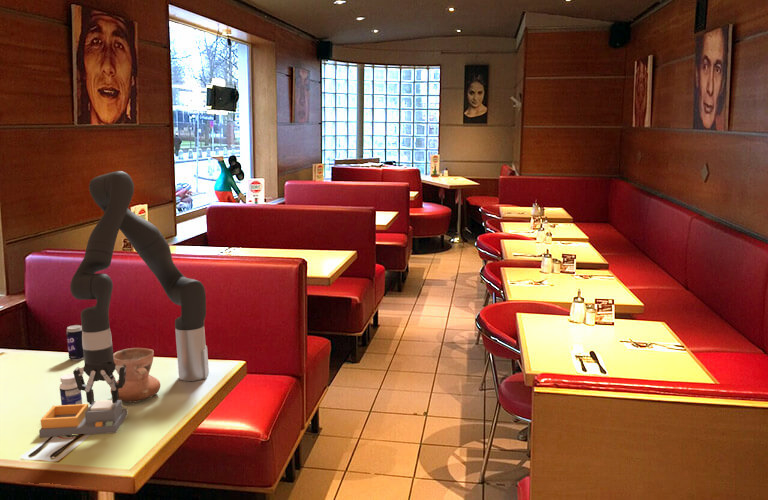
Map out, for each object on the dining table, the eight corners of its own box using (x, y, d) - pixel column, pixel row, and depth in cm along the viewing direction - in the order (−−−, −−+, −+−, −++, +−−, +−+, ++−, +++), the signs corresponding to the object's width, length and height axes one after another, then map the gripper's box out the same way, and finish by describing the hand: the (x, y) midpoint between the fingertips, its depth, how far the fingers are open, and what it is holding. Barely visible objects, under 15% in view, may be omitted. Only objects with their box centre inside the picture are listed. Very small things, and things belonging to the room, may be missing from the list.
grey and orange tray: (127, 414, 205) (125, 396, 204) (116, 432, 193) (114, 413, 192) (55, 418, 203) (53, 400, 202) (39, 437, 191) (37, 418, 190)
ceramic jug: (169, 399, 215) (166, 354, 213) (121, 411, 207) (117, 364, 204) (149, 384, 229) (145, 341, 227) (103, 394, 221) (99, 350, 219)
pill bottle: (61, 406, 212) (57, 374, 210) (81, 402, 215) (78, 371, 213) (62, 412, 207) (58, 380, 205) (83, 408, 210) (80, 377, 208)
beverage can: (72, 356, 257) (69, 324, 255) (88, 356, 258) (85, 324, 255) (66, 361, 252) (63, 329, 249) (83, 361, 252) (79, 328, 250)
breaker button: (117, 413, 201) (116, 399, 200) (112, 420, 196) (110, 407, 195) (97, 414, 200) (96, 400, 200) (91, 422, 195) (90, 408, 194)
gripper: (128, 339, 198) (133, 396, 201) (75, 341, 197) (81, 399, 200) (120, 347, 191) (126, 406, 194) (65, 350, 190) (72, 409, 193)
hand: (103, 402), depth 197 cm, fingers open, 5 cm apart
